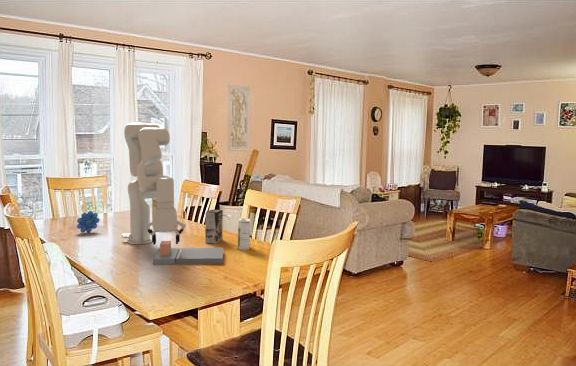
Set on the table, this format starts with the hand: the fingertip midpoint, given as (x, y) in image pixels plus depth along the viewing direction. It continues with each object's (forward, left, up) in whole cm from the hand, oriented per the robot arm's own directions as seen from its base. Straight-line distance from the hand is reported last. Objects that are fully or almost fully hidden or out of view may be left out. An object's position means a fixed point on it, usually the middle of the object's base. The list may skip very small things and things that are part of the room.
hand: (166, 243), depth 205 cm
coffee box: (+20, +33, -7) cm, 39 cm away
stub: (0, +1, -7) cm, 7 cm away
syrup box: (+35, +18, -7) cm, 40 cm away
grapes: (-49, +56, -7) cm, 74 cm away
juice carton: (-13, +73, -7) cm, 74 cm away
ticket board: (+15, +1, -7) cm, 17 cm away
